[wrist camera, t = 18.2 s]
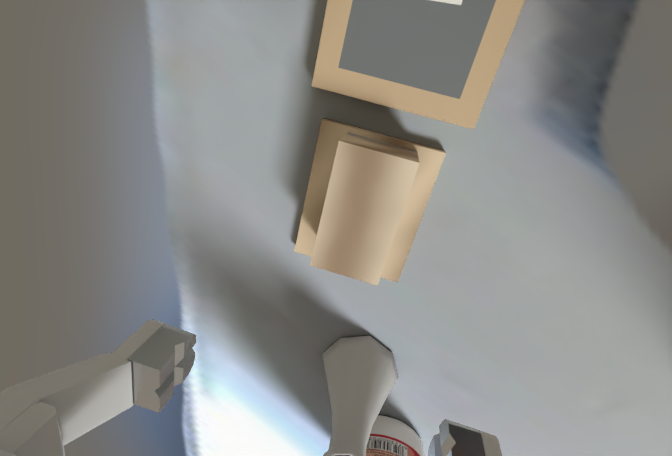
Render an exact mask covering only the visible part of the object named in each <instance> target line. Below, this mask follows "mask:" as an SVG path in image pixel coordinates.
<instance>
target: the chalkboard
mask: <svg viewBox="0 0 672 456" xmlns="http://www.w3.org/2000/svg"><path fill="white" fill-rule="evenodd" d="M524 2H525V0H328V1H327V6H326V12H325V17H324V22H323V28H322V33H321V38H320V44H319V49H318V54H317V60H316V65H315V70H314V76H313V81H312V87H316V88H320V89H324V90H328V91H331V92H335V93H339V94H343V95H346V96H350V97H354V98H358V99H361V100H365V101H369V102H373V103H377V104H380V105H384V106H388V107H392V108H395V109H399V110H403V111H407V112H410V113H414V114H418V115H422V116H426V117H429V118H433V119H437V120H441V121H444V122H448V123H452V124H456V125H459V126H463V127H467V128H471V129H474V127H475V125H476V122H477V120H478V117H479V115H480V112H481V110H482V107H483V105H484V102H485V100H486V97H487V95H488V92H489V90H490V87H491V85H492V82H493V80H494V77H495V75H496V72H497V70H498V67H499V64H500V62H501V59H502V57H503V54H504V52H505V49H506V47H507V44H508V42H509V39H510V37H511V34H512V32H513V29H514V27H515V24H516V22H517V19H518V17H519V14H520V12H521V9H522V7H523V4H524Z"/></svg>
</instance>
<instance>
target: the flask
mask: <svg viewBox="0 0 672 456" xmlns="http://www.w3.org/2000/svg"><path fill="white" fill-rule="evenodd" d="M322 357H323V363H324V368H325V374H326V379H327V384H328V391H329V398H330V405H331V412H332V434H331V440H330V446H329V450H328V451H327V452H326V453H324V455H323V456H366V448H367V443H368V440H369V436H370V433H371V430H372V426H373V424H374V422H375V420H376V418H377V416H378V414H379V412H380V410H381V408H382V406H383V404H384V402H385V400H386V399H387V397H388V395H389V393H390V391H391V390H392V388H393V386H394V384H395V383H396V381H397V379H398V374H397V369H396V365H395V361H394V356H393V353H391V352H390V351H389V350H387V349H386V348H385V347H384V346H382V345H381V344H380V343H379V342H377V341H376V340H375V339H374V338H372V337H371V336H360V337H347V338H340V339H339V340H337V341H336V342H335V343H334V344H333V345H332V346H331V347H329V348H328V349H327V350H326V351H325V352H324V353H322Z"/></svg>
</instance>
